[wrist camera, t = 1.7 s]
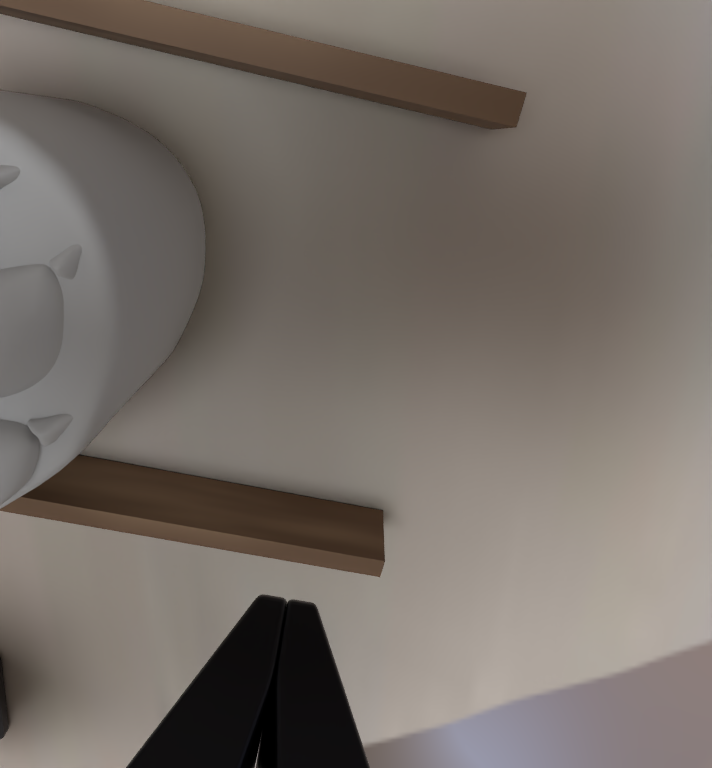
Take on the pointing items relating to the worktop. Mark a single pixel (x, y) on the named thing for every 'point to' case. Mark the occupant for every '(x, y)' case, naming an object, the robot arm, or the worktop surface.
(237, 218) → the worktop surface
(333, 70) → the guide rails
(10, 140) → the lumpy-topped squat cylinder
